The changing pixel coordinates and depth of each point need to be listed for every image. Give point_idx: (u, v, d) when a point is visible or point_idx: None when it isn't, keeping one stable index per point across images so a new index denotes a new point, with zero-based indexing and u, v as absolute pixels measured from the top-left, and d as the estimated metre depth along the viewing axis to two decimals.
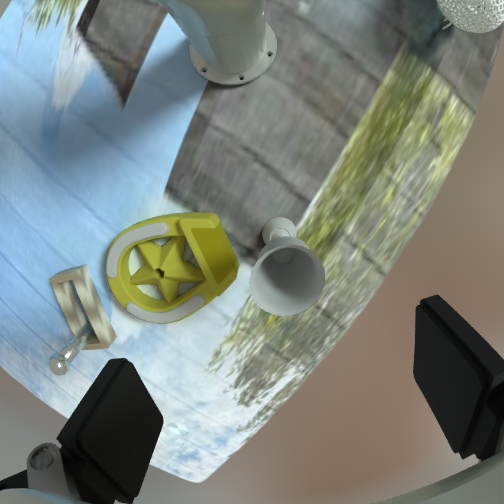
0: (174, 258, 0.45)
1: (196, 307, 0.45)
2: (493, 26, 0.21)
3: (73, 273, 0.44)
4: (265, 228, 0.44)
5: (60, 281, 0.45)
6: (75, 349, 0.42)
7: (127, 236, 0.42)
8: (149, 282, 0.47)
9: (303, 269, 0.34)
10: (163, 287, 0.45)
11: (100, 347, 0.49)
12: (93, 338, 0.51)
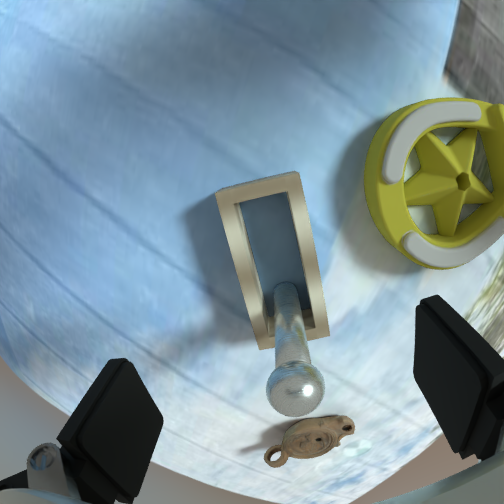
0: None
1: (499, 236, 0.23)
2: None
3: (294, 176, 0.23)
4: None
5: (249, 197, 0.24)
6: (307, 345, 0.21)
7: (432, 110, 0.21)
8: (432, 200, 0.25)
9: None
10: (461, 206, 0.24)
11: (312, 337, 0.27)
12: None
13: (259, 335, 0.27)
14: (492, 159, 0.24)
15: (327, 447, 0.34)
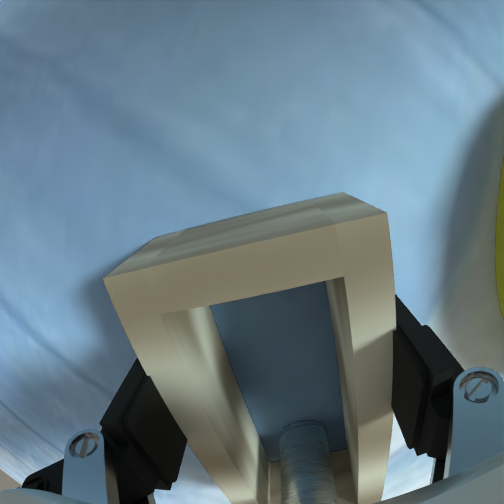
0: None
1: None
2: None
3: (371, 225, 0.06)
4: None
5: (211, 296, 0.07)
6: None
7: None
8: None
9: None
10: None
11: None
12: None
13: None
14: None
15: None
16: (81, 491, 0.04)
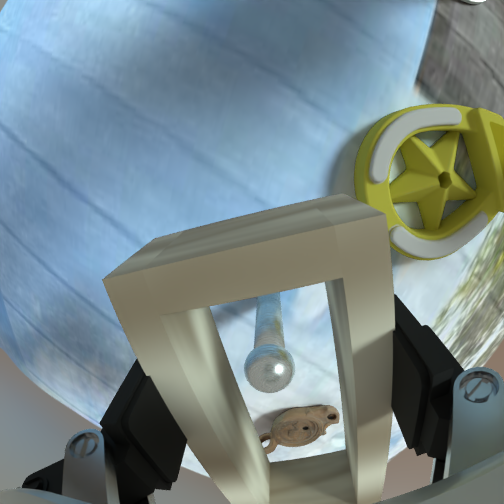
0: (453, 163, 0.27)
1: (481, 229, 0.27)
2: None
3: (370, 226, 0.06)
4: None
5: (210, 297, 0.07)
6: (282, 332, 0.24)
7: (414, 117, 0.24)
8: (416, 197, 0.29)
9: None
10: (443, 202, 0.27)
11: None
12: (295, 485, 0.12)
13: None
14: (474, 159, 0.27)
15: (314, 436, 0.38)
16: (81, 491, 0.04)
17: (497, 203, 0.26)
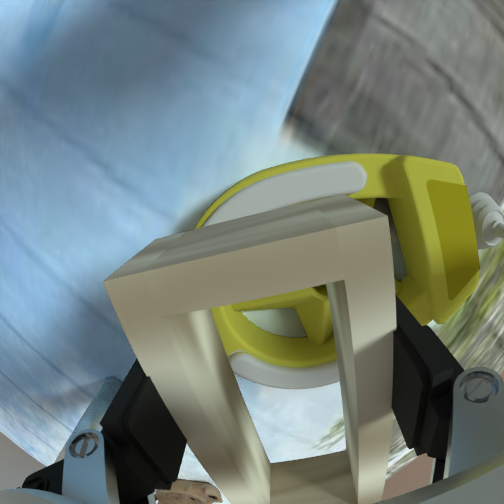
0: None
1: None
2: None
3: (372, 228, 0.06)
4: None
5: (212, 299, 0.07)
6: None
7: (258, 194, 0.17)
8: (283, 305, 0.22)
9: None
10: (325, 316, 0.20)
11: None
12: (295, 486, 0.12)
13: None
14: (402, 235, 0.20)
15: None
16: (81, 491, 0.04)
17: (430, 310, 0.19)
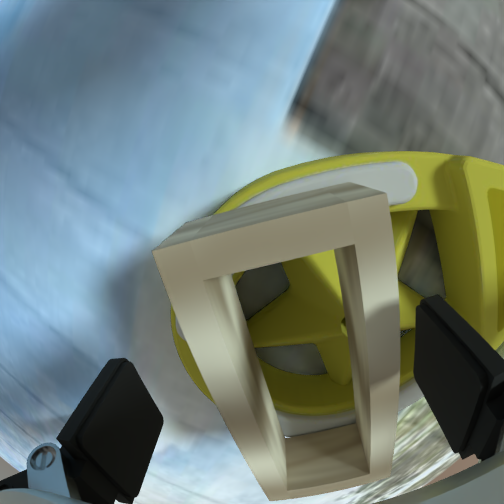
0: None
1: None
2: None
3: (374, 202, 0.08)
4: None
5: (248, 262, 0.08)
6: None
7: None
8: (302, 343, 0.17)
9: None
10: None
11: (360, 483, 0.12)
12: (310, 457, 0.14)
13: (270, 489, 0.12)
14: (446, 254, 0.15)
15: None
16: None
17: None
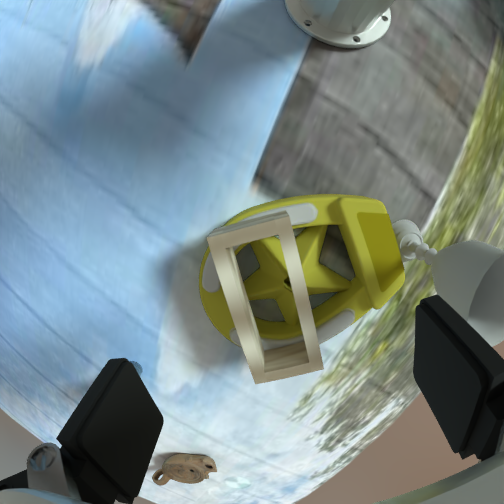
0: (313, 259, 0.31)
1: (343, 328, 0.31)
2: None
3: (284, 219, 0.24)
4: None
5: (241, 241, 0.24)
6: None
7: None
8: (266, 296, 0.33)
9: None
10: (294, 303, 0.31)
11: (306, 371, 0.27)
12: (277, 357, 0.29)
13: (255, 370, 0.28)
14: (348, 248, 0.32)
15: (199, 478, 0.41)
16: None
17: (369, 299, 0.30)
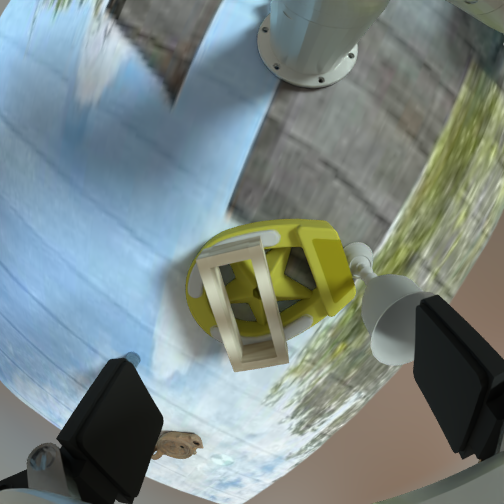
0: (278, 273, 0.38)
1: (303, 330, 0.38)
2: None
3: (256, 247, 0.31)
4: None
5: (222, 263, 0.31)
6: None
7: None
8: (240, 301, 0.40)
9: (404, 308, 0.28)
10: (262, 308, 0.39)
11: (274, 363, 0.35)
12: (253, 351, 0.37)
13: (233, 361, 0.35)
14: None
15: (188, 453, 0.50)
16: None
17: (324, 308, 0.37)
